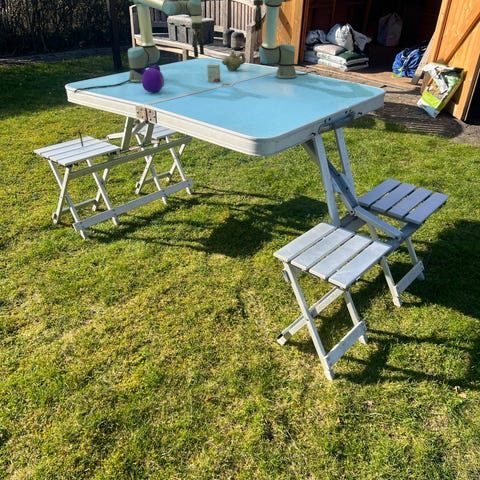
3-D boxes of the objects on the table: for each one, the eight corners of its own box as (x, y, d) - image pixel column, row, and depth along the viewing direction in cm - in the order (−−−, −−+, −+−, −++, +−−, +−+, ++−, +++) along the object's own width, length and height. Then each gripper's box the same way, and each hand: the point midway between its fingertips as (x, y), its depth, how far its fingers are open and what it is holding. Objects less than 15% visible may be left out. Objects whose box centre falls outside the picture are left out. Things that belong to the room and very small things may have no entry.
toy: (156, 85, 322) (164, 98, 301) (131, 81, 314) (137, 93, 294) (160, 63, 314) (168, 74, 293) (135, 58, 306) (141, 69, 286)
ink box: (220, 80, 335) (220, 64, 329) (219, 82, 331) (218, 65, 325) (209, 80, 336) (208, 64, 330) (207, 82, 332) (206, 65, 326)
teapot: (225, 72, 362) (225, 52, 354) (219, 70, 371) (218, 51, 363) (248, 69, 371) (248, 50, 364) (241, 67, 380) (241, 48, 372)
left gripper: (197, 21, 319) (199, 53, 329) (185, 24, 298) (188, 58, 308) (207, 21, 317) (209, 53, 328) (196, 24, 296) (199, 58, 307)
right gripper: (256, -1, 358) (256, 28, 369) (250, 0, 337) (250, 31, 347) (265, -1, 356) (265, 28, 367) (260, 0, 335) (260, 31, 346)
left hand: (199, 55), depth 318 cm, fingers open, 13 cm apart
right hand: (258, 30), depth 357 cm, fingers open, 13 cm apart
